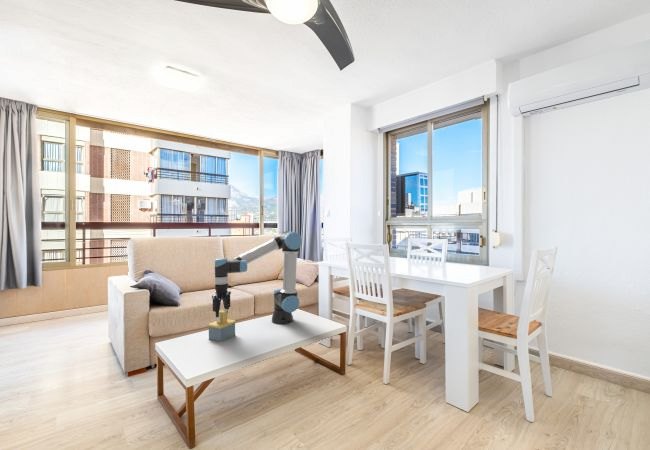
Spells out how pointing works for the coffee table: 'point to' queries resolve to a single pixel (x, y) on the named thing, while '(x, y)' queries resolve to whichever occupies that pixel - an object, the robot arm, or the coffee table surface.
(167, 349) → the coffee table surface
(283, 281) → the robot arm
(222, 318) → the lid
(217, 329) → the box
